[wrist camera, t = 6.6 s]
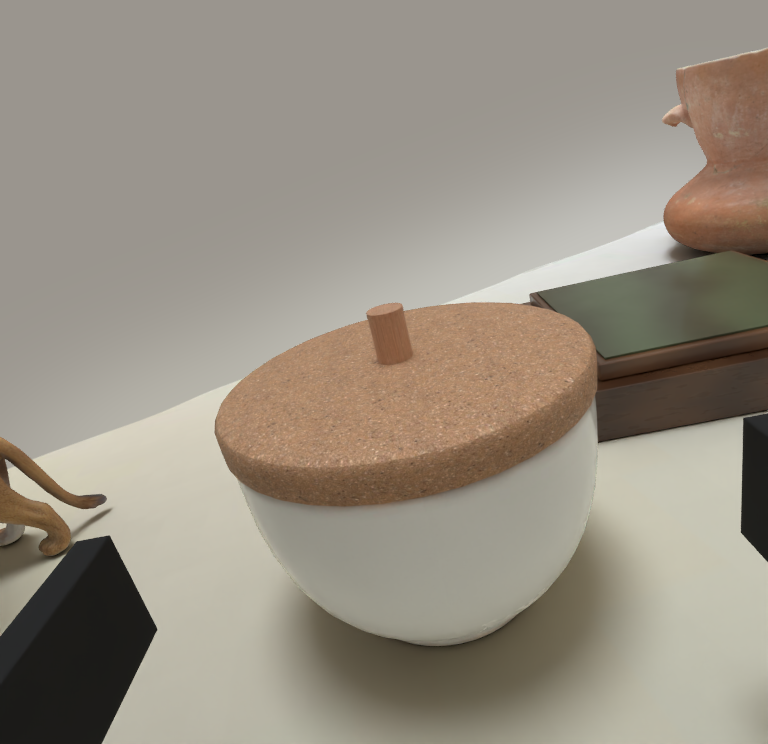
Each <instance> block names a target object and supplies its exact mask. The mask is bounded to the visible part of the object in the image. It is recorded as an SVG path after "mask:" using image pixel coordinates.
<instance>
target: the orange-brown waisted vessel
mask: <svg viewBox="0 0 768 744" xmlns="http://www.w3.org/2000/svg"><path fill="white" fill-rule="evenodd" d="M676 81H677V88H678V92H679V96H680V100H681V103H682V104H681V105H678V106H676V107H674V108H672V109H671V110H670V111H669V112H668V113H667V114H666V115H665V116H664V117H663V119H662V121H663V123H665V124H668V125H671V126H674V127H676V126H677V124H679V123H680V122H683V123H685V124H686V125H688V126H689V127H691V128H694V131H695V135H696V138H697V140H698V143H699V145H700V146H701V148H702V150H703V152H704V154H705V156H706V158H707V165H706V166H705V167H704V168H703V170H702V171H700V172H699V174H697V175H696V176H695V177H694V178H693V179H692V180H691V181H689V182H688V183H687V184H686V185H685V186H683V187H682V188H681V189H680V190H679V191H678V192H676V193H675V194H674V195H673V197H672V198H671V199H670V200H669V202H668V204H667V205H666V208H665V211H664V224H665V226H666V229H667V231H668V233H669V234H670V235H671V236H672V237H673V238H674V239H675V240H676V241H678V242H679V243H681V244H683V245H686V246H688V247H691V248H694V249H698V250H701V251H706V252H712V253H721V252H725V251H730V250H732V251H736V252H739V253H742V254H765V253H768V48H765V49H761V50H758V51H753V52H747V53H743V54H739V55H735V56H731V57H726V58H722V59H718V60H714V61H709V62H705V63H700V64H696V65H692V66H687V67H682V68H678V69H677V70H676Z"/></svg>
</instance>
